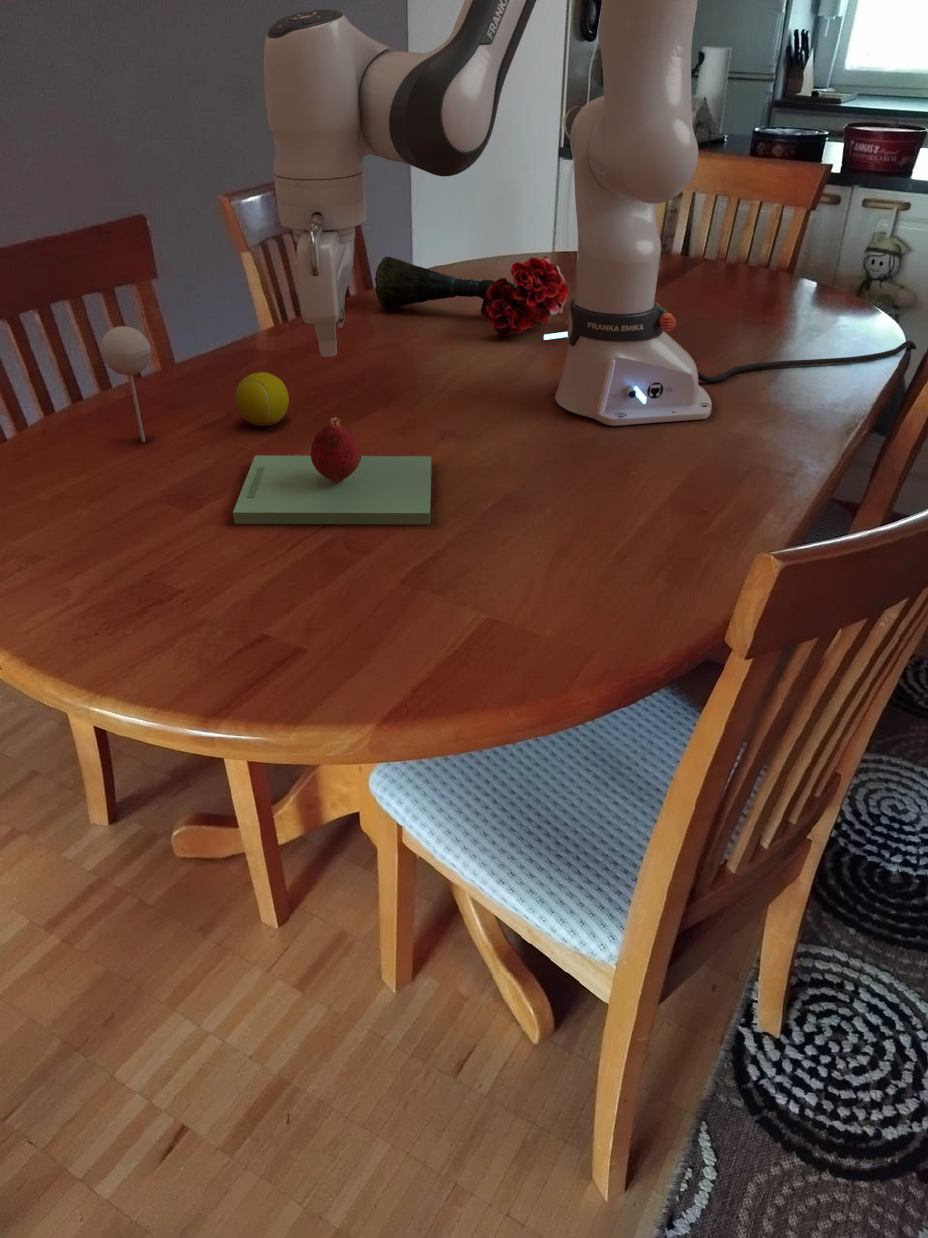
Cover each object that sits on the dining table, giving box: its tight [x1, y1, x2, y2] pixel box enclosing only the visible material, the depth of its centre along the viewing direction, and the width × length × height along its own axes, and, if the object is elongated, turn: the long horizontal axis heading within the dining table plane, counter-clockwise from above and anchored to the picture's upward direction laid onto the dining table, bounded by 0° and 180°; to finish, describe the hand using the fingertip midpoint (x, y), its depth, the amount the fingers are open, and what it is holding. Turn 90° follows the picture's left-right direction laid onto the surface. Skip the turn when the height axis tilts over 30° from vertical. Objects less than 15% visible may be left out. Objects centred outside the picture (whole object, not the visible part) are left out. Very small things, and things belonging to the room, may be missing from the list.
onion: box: [310, 416, 362, 483], centre depth 109 cm, size 6×6×8 cm
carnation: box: [374, 255, 570, 338], centre depth 164 cm, size 16×18×35 cm
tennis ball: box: [234, 371, 290, 427], centre depth 127 cm, size 7×7×7 cm
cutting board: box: [232, 454, 432, 526], centre depth 111 cm, size 22×15×2 cm
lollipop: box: [99, 325, 152, 443], centre depth 119 cm, size 6×6×15 cm
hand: (333, 339), depth 102 cm, fingers open, 8 cm apart
